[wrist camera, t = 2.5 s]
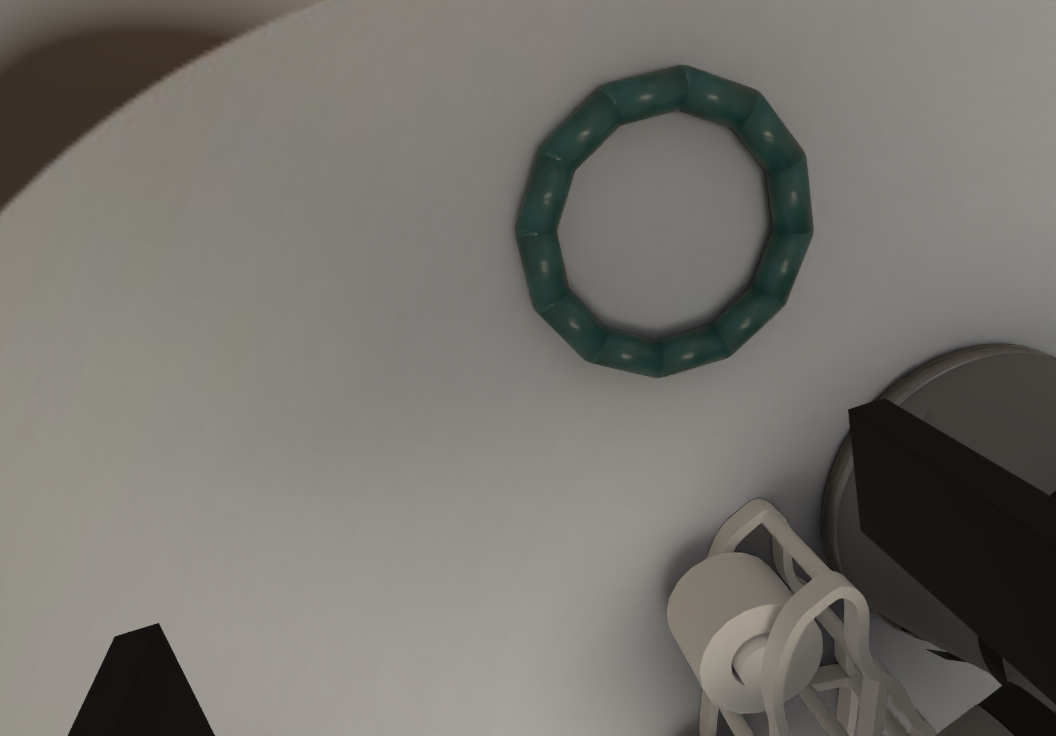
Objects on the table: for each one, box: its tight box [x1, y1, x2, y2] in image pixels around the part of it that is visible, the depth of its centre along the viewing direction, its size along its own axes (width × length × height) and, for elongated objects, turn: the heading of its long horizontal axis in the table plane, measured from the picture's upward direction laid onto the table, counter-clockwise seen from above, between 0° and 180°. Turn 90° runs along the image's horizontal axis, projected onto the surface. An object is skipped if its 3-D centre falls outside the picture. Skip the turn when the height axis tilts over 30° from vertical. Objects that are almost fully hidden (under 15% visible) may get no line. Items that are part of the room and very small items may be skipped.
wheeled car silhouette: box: [667, 499, 937, 736], centre depth 38 cm, size 20×11×7 cm, turn 3°
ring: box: [515, 65, 814, 378], centre depth 32 cm, size 12×12×2 cm
